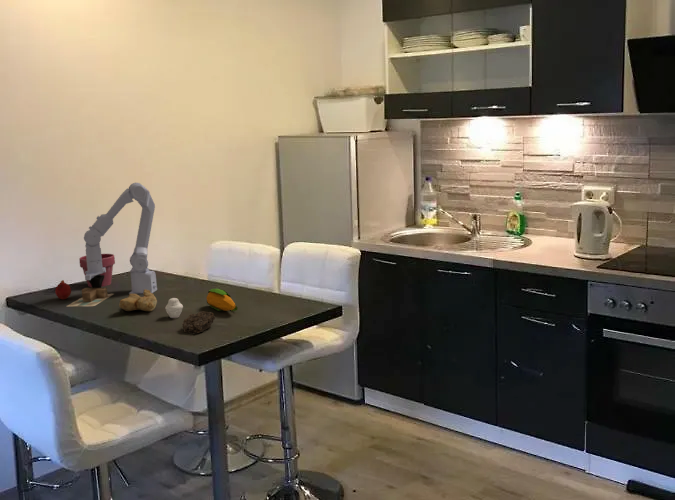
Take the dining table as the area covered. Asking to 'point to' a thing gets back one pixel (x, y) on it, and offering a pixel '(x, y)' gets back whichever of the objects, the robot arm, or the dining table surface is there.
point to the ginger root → (139, 302)
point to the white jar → (174, 308)
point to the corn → (220, 300)
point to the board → (93, 303)
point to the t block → (93, 294)
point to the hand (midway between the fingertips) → (97, 293)
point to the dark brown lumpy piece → (198, 322)
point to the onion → (63, 290)
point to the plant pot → (107, 262)
